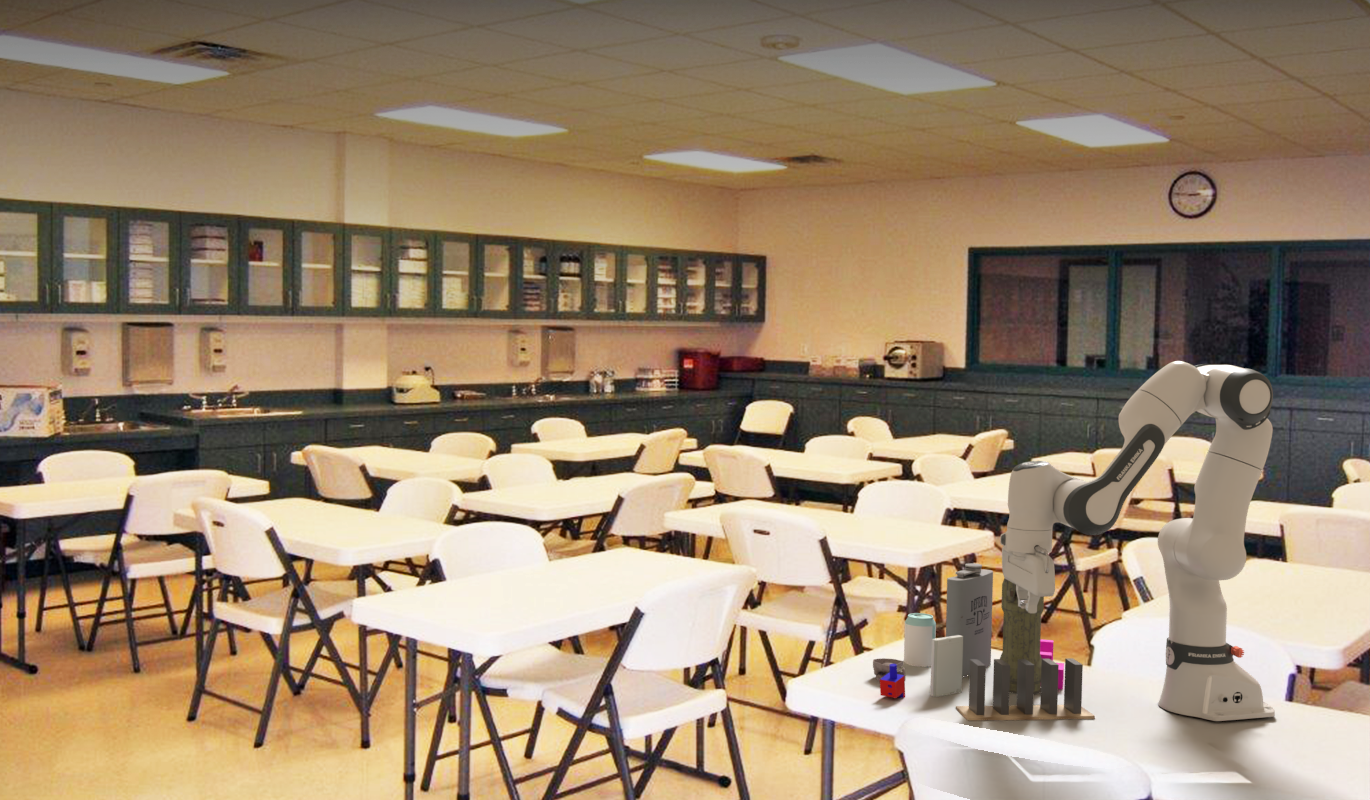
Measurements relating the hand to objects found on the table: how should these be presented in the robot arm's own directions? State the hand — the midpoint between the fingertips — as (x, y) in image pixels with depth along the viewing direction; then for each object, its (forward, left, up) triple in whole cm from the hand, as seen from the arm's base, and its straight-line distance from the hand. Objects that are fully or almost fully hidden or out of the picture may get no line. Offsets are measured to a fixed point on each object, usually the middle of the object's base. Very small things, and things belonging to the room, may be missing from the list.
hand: (1027, 610), depth 261 cm
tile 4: (-5, 0, -20) cm, 21 cm away
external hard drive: (+12, -14, -21) cm, 28 cm away
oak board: (0, 0, -21) cm, 21 cm away
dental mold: (+22, -24, -21) cm, 39 cm away
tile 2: (+5, 0, -20) cm, 21 cm away
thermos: (-6, -18, -21) cm, 28 cm away
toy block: (-15, -26, -22) cm, 37 cm away
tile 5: (-10, 0, -20) cm, 23 cm away
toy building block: (+24, -11, -22) cm, 34 cm away
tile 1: (+10, 0, -20) cm, 23 cm away
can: (+11, -38, -21) cm, 45 cm away
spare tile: (0, 0, -20) cm, 20 cm away
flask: (+1, -32, -21) cm, 39 cm away
